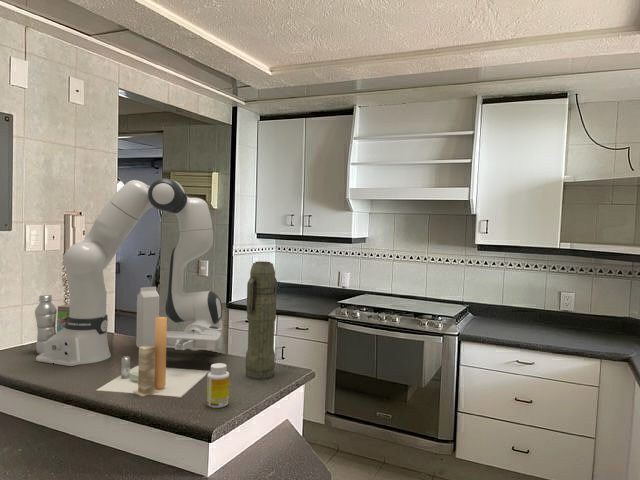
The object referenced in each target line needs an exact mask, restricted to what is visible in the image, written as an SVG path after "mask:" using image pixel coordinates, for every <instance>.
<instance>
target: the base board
mask: <svg viewBox="0 0 640 480" xmlns="http://www.w3.org/2000/svg"><path fill="white" fill-rule="evenodd" d="M138 371H139V365H136V366H134V367H133V368H130V373H132V372H138ZM209 372H211V370H202V369H189V368H188V369H187V368H178V367H177V368H176V367H166V385H165V387H162V388H156V387H154V389H156V390H158V391H160V392H158V393H155V394H151V395H150V396H152V395H153V396H154V395H155V396H164V397H174V398H177V399H178V398H182V397H183V396H184V395H185V394H187V393H188V392H189V391H190V390H191V389H192V388H193V387H195V386H196V385H197V384H198V383H199V382H200V381H201V380H202V379H204V378H205V377H207V375H208V373H209ZM135 390H138V382H137V381H134V380H131V379H129V378H128V379H122V378H121V375H118V376H117V377H115V378H114V379H112V380H111V381H109V382H107V383H105V384H104V385H102V386H101V387H98V389H96V391H97V392H98V391H100V392H114V393H124V394H125V393H126V394H134V393H133V391H135Z"/></svg>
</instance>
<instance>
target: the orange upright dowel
mask: <svg viewBox="0 0 640 480" xmlns="http://www.w3.org/2000/svg"><path fill="white" fill-rule="evenodd" d="M167 317H168V316H159V317H156V318H155V378H154V387H156V388H162V387H165V385H166V368H167V347H166V336H167V331H168V329H167V326H168V318H167ZM129 379H131V380H134V381H137V382H138V372H132V373H129Z"/></svg>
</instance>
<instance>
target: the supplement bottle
mask: <svg viewBox="0 0 640 480" xmlns="http://www.w3.org/2000/svg"><path fill="white" fill-rule="evenodd" d="M206 379H207V380H206V383H207V384H206V404H207V406H208V407H210V408H214V409H220V408H225V407H226V406H228V404H229V400H230V373H229V371H227V363H222V362H217V363H212V364H211V365H210V372H209V373H208V374H207V375H206Z"/></svg>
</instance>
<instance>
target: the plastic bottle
mask: <svg viewBox="0 0 640 480" xmlns="http://www.w3.org/2000/svg"><path fill="white" fill-rule="evenodd" d="M38 297H39V299H38V302H39V304H38V305H37V307H36V308H35V310H34V316H35V321H36V329H37V336H36V337H37V339H36V344H35V350H36V353H37V355H40V354H42V353H44V349H45V344H46V342H47V340H48V339H49V338H51V337H52V336H53V335H55V334H56V333H57V313H58V309H57V308H56V306H55V305H54V304H53V302H52V301H53V298H52V297H53V295H52V294H45V295H44V294H43V295H39V296H38Z"/></svg>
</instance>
